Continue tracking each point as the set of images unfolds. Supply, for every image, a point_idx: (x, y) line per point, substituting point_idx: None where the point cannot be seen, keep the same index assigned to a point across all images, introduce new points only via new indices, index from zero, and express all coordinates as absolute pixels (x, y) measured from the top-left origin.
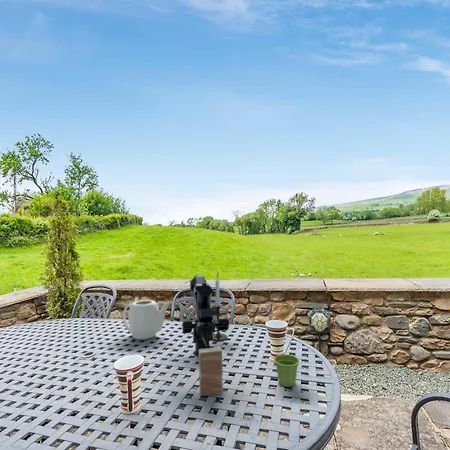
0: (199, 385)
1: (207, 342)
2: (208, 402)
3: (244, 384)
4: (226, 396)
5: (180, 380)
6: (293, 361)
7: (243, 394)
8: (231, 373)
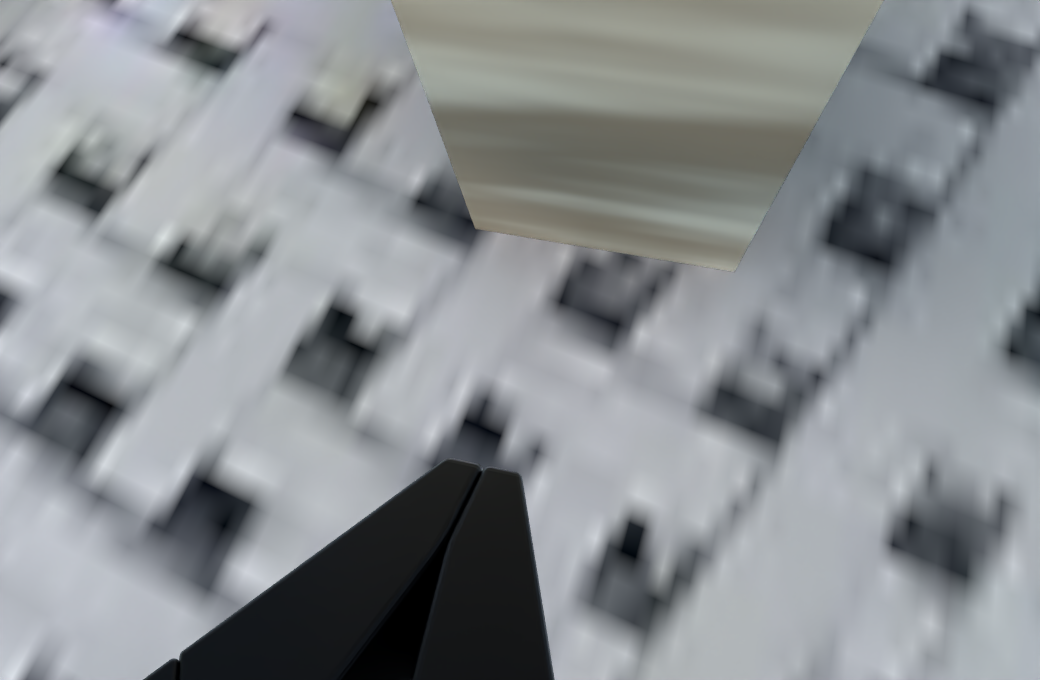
0: (749, 241)
1: (455, 515)
2: None
3: (206, 223)
4: None
5: (945, 652)
6: None
7: (316, 57)
8: (203, 538)
